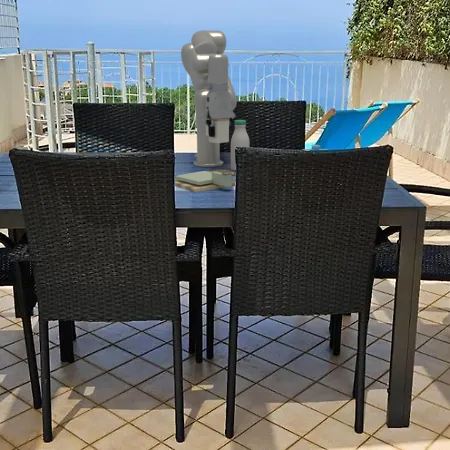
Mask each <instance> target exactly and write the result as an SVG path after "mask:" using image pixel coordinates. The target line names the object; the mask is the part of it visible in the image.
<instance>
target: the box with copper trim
mask: <svg viewBox="0 0 450 450" xmlns="http://www.w3.org/2000/svg"><path fill="white" fill-rule="evenodd" d="M208 119H209V118H208ZM213 127H215V137H209V142H213V143H220V144H223V143H229V142H230V129H229V128H230V125H229V118H226V119H215V122H214V125H213ZM206 135H207V136H209V134H208V126H207V125H206Z"/></svg>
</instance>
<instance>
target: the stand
mask: <svg viewBox="0 0 450 450" xmlns="http://www.w3.org/2000/svg"><path fill="white" fill-rule="evenodd" d="M174 179H175V178H174ZM235 182H236V181H234V180H232V186H231V187H235ZM175 187H178V188H180V189H184V190H188V191H190V192H193V193H200V192H204V191H211V190H216V189H223V188H226V187H225V186H221V185H217V184H213V183H208V184H203V185H197V184H193V183H189V182H185V181H181V180H176V179H175Z"/></svg>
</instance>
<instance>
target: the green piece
mask: <svg viewBox="0 0 450 450" xmlns="http://www.w3.org/2000/svg"><path fill="white" fill-rule="evenodd" d="M232 178H233V175H232V173H229V172H225V173H220V172H208V170H203V171H202V170H201V171H195V172H189V173H184V174H179V175H178V174H177V175H174V179H176V180H181V181H185V182H189V183H193V184H197V185H203V184H208V183H213V184H217V185H221V186H225V188H229V187H230V188H231V187H233V186H232V181H233V179H232Z"/></svg>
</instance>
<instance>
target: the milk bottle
mask: <svg viewBox="0 0 450 450" xmlns="http://www.w3.org/2000/svg"><path fill="white" fill-rule="evenodd" d="M246 126H247V120H246V119H235V120H234V131H233V134H232V137H231V139H230V171H233V172H236V171H235V149H236V147H251V145H250V144H251V143H250V137H249V135H248V133H247V130H246Z"/></svg>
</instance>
